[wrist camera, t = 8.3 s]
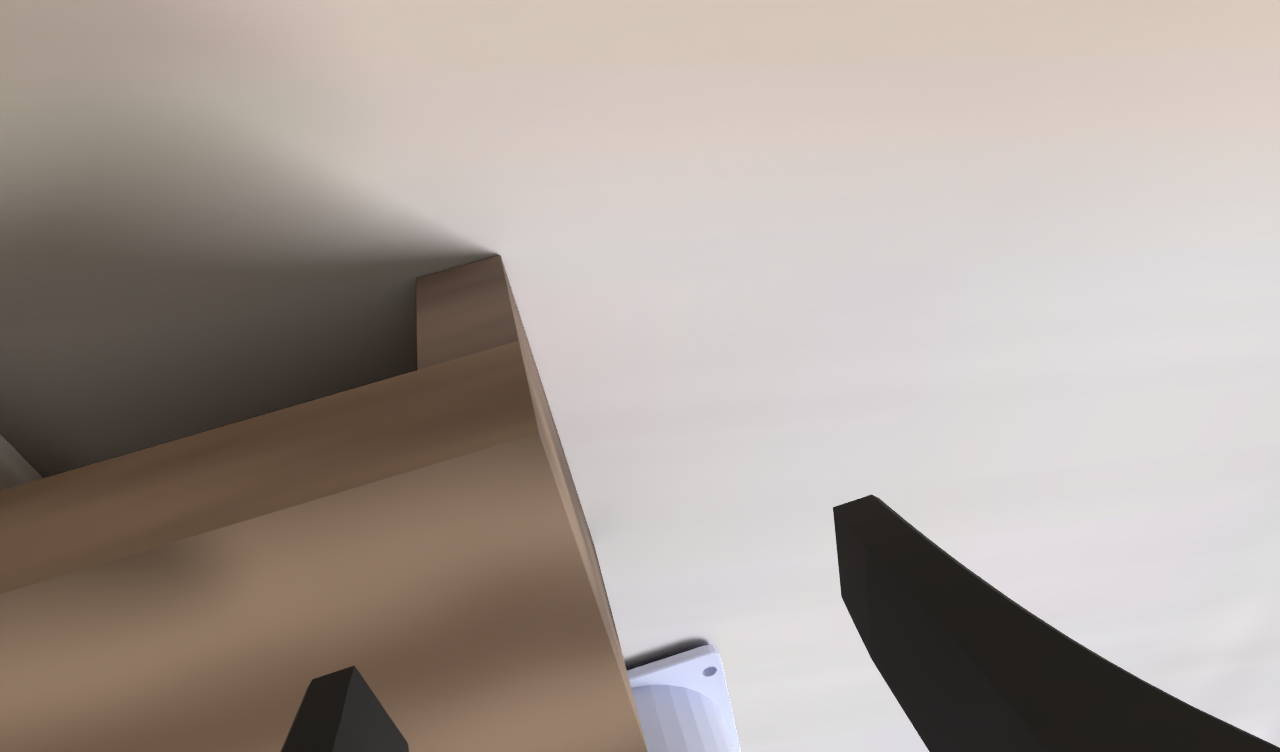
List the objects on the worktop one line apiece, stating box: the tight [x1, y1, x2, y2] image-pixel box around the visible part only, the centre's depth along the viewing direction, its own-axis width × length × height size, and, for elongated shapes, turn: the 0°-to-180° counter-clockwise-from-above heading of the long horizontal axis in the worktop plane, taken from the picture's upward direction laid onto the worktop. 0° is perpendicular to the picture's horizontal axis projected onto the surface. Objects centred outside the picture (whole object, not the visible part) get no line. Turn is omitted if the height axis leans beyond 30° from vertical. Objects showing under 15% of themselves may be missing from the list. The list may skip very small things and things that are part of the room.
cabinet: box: [0, 255, 648, 752], centre depth 18 cm, size 10×13×7 cm
